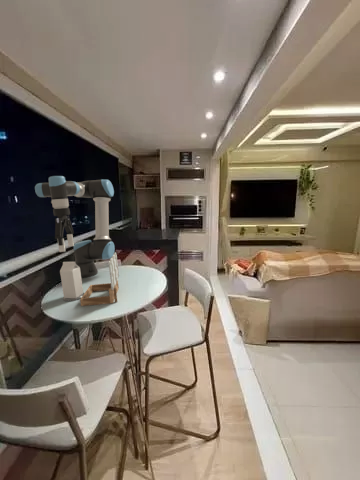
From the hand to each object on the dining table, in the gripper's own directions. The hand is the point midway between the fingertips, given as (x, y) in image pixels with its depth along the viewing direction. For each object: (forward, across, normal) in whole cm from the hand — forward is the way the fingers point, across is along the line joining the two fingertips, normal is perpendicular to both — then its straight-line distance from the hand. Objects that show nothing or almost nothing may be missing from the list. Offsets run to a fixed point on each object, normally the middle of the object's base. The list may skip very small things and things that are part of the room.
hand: (67, 248), depth 134 cm
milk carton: (+26, 0, 0) cm, 26 cm away
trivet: (+27, 0, 0) cm, 27 cm away
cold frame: (+27, +3, +15) cm, 31 cm away
